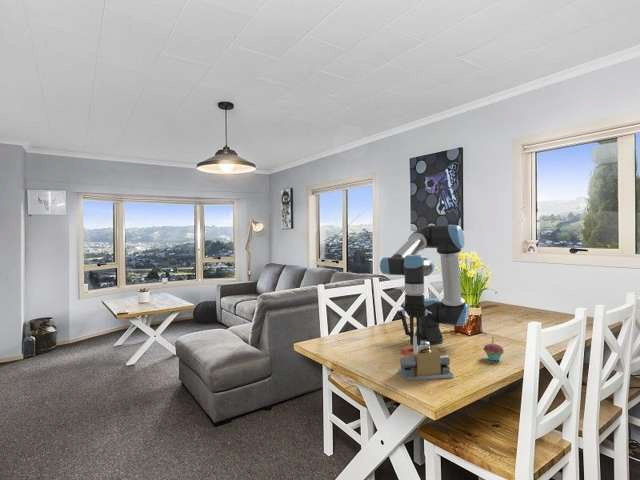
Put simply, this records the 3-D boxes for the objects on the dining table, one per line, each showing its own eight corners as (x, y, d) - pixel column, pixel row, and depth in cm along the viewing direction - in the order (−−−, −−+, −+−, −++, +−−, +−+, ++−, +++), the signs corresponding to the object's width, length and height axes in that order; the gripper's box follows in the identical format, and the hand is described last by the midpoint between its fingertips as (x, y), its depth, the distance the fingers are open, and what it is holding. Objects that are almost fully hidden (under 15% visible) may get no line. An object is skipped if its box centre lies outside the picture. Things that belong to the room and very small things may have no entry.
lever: (423, 347, 154) (423, 340, 154) (431, 349, 151) (431, 342, 151) (399, 354, 145) (399, 347, 145) (407, 357, 142) (407, 349, 142)
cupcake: (502, 363, 163) (502, 337, 163) (482, 360, 167) (482, 334, 167) (504, 358, 170) (504, 332, 170) (484, 355, 175) (484, 330, 175)
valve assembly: (441, 368, 158) (441, 344, 158) (453, 377, 148) (453, 351, 148) (397, 371, 155) (397, 346, 155) (406, 381, 145) (406, 354, 145)
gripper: (396, 294, 142) (397, 354, 142) (430, 296, 138) (432, 357, 138) (399, 291, 149) (400, 348, 149) (432, 293, 145) (433, 351, 145)
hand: (415, 353), depth 144 cm, fingers closed
